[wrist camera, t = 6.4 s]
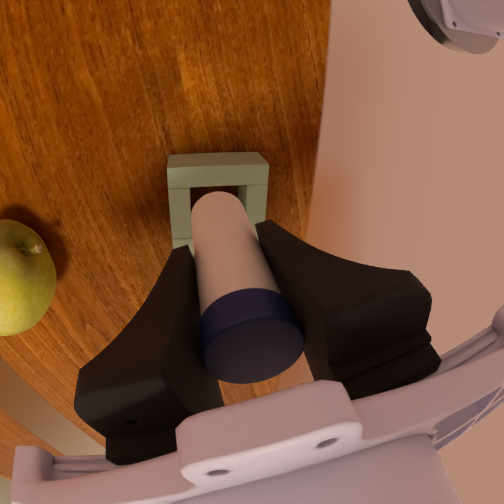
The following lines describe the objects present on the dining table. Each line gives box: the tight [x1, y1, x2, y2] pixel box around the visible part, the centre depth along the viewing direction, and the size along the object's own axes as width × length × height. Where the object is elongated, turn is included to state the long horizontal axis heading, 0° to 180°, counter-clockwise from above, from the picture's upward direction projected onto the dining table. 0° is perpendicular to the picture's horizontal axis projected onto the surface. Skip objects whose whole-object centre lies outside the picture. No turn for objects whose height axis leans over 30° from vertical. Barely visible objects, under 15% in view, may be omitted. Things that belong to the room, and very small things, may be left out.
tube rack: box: [167, 152, 269, 256], centre depth 23 cm, size 15×6×3 cm, turn 177°
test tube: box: [191, 191, 305, 384], centre depth 12 cm, size 3×3×8 cm
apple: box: [0, 219, 56, 336], centre depth 17 cm, size 8×9×8 cm
